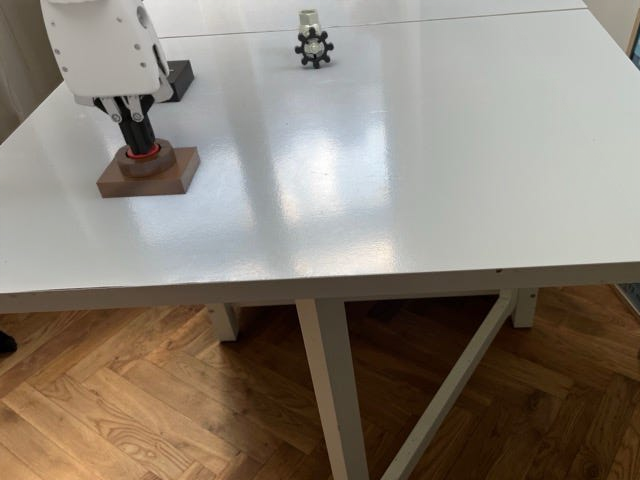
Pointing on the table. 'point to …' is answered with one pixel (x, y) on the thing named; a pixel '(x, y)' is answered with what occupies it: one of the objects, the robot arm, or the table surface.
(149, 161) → the button block
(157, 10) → the table surface
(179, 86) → the panel
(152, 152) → the button
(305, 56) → the valve
